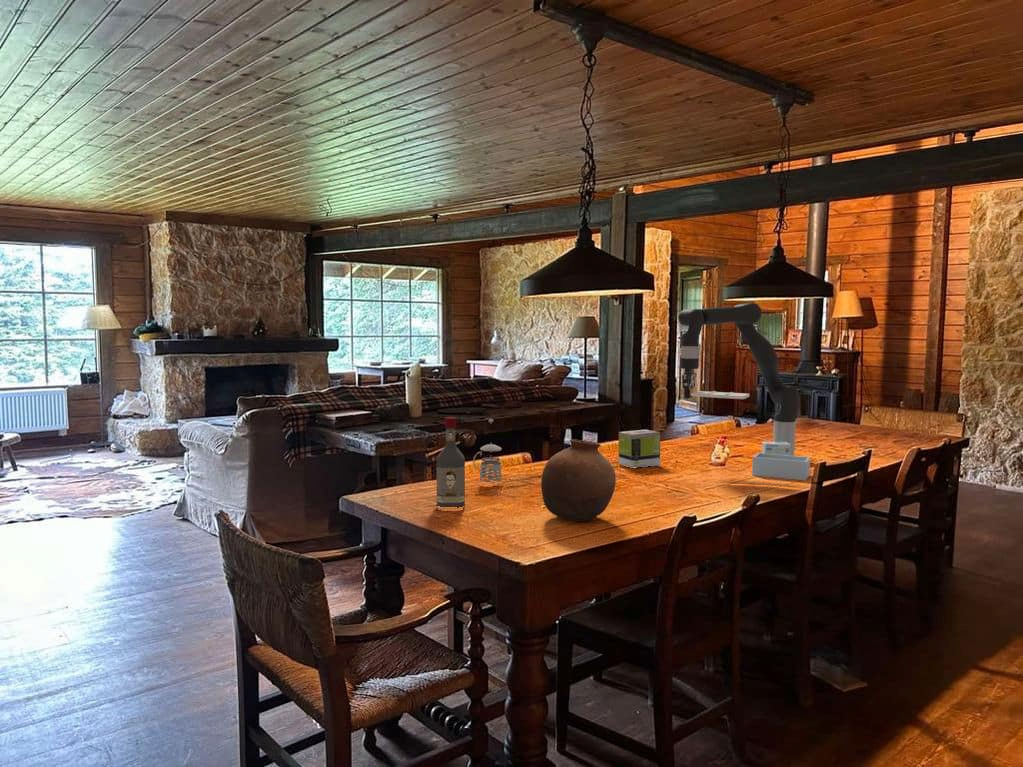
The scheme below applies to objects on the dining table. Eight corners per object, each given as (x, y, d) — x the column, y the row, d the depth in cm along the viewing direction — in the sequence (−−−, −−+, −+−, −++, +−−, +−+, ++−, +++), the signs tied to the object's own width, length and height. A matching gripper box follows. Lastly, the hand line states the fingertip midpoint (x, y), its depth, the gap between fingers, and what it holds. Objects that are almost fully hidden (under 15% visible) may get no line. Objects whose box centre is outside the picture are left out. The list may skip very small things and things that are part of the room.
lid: (686, 393, 317) (686, 387, 316) (749, 396, 305) (749, 390, 304) (678, 395, 306) (679, 389, 306) (743, 399, 294) (744, 392, 294)
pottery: (530, 524, 226) (530, 442, 224) (556, 506, 247) (557, 432, 245) (602, 532, 217) (603, 448, 215) (623, 514, 238) (624, 436, 236)
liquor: (437, 505, 249) (436, 416, 247) (464, 504, 250) (464, 415, 247) (436, 512, 240) (436, 419, 237) (464, 511, 241) (464, 419, 238)
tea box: (646, 462, 326) (647, 428, 325) (660, 466, 317) (661, 432, 316) (617, 465, 319) (618, 430, 318) (631, 469, 310) (631, 434, 309)
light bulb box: (786, 466, 318) (787, 441, 317) (790, 469, 311) (791, 444, 310) (760, 465, 319) (761, 440, 318) (764, 468, 312) (765, 443, 311)
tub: (757, 472, 305) (757, 452, 304) (809, 477, 295) (810, 457, 295) (752, 477, 295) (752, 457, 294) (806, 482, 286) (806, 461, 285)
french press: (500, 488, 275) (500, 420, 273) (470, 486, 277) (470, 419, 275) (506, 482, 284) (506, 417, 282) (476, 481, 287) (476, 416, 284)
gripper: (685, 356, 317) (683, 396, 318) (676, 357, 304) (674, 399, 306) (702, 356, 313) (701, 397, 315) (694, 358, 301) (693, 400, 302)
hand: (688, 397), depth 310 cm, fingers closed on lid, 4 cm apart
